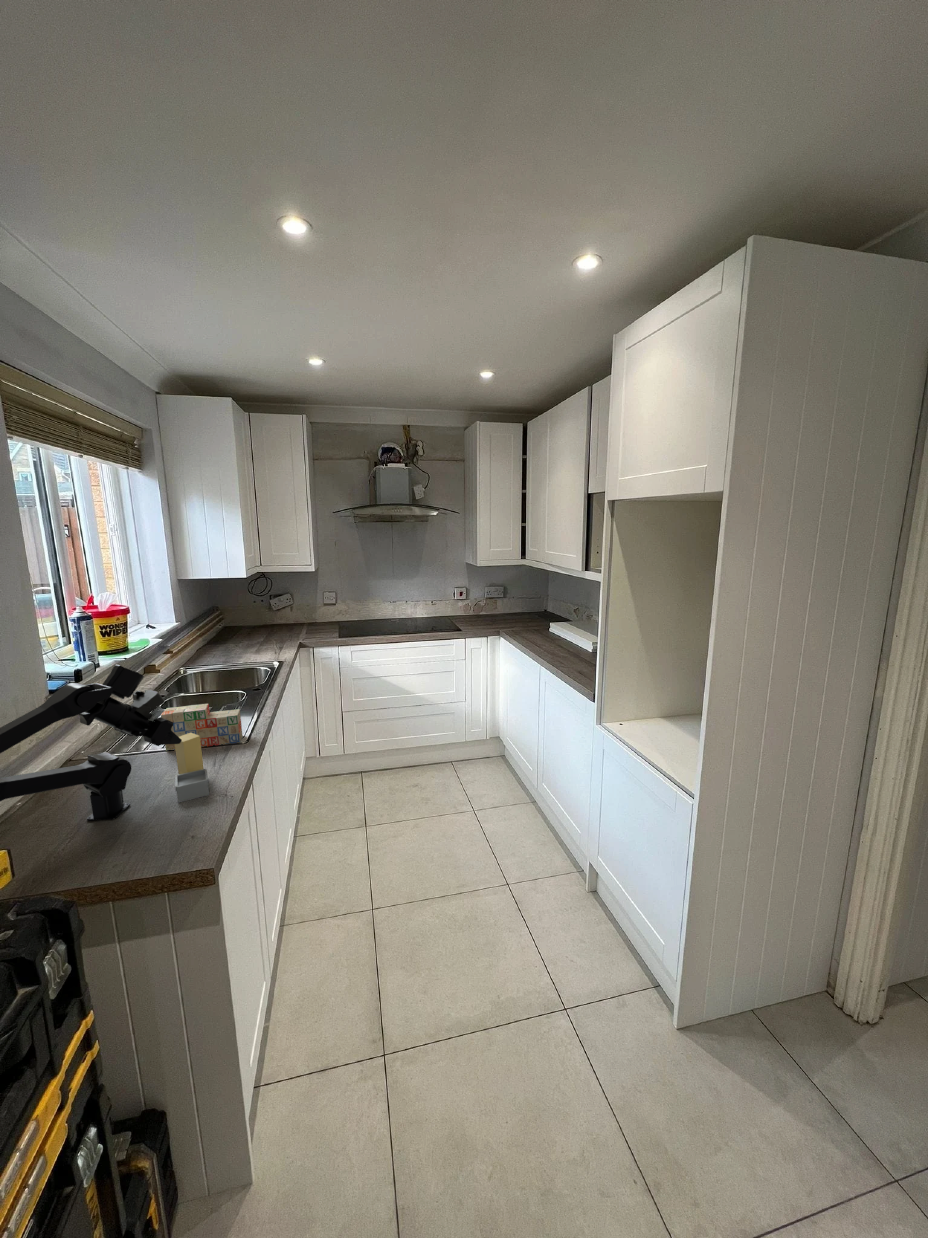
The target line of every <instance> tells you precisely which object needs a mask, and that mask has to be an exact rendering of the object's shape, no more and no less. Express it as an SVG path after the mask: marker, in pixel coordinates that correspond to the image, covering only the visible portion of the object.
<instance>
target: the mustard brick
mask: <svg viewBox="0 0 928 1238" xmlns="http://www.w3.org/2000/svg"><path fill="white" fill-rule="evenodd" d="M179 738H180V739H181V740H182V741H181V743H180V744H175V750H174V751H175V756H176V764H177V765H176V766H177V770H178V771H177V772H178V775H179V774H184V773H188V772H193V771H197V770H202V769H205V767H204V761H203V760H204V759H203V753H202V752H203V751H202V747H201V742H200V736H199V735H196V734H193V733H188V734H185V735H182V736H179Z"/></svg>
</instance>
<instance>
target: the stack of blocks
mask: <svg viewBox="0 0 928 1238" xmlns="http://www.w3.org/2000/svg"><path fill="white" fill-rule="evenodd" d="M160 718H164V719H167V720H169V721H171V722H173V726H172V728H171V730H172V731H173V732H174V733H175V734H176V735H177V736H178V737H179V736H182V735H185V734H188V733H193V734H196V735H199V736H200V742H201V746H207V747H212V746H213V745H215V746H222V745H221V744H223V745H226V744H225V743H231V744H237V742H239V743H241V740H242V738H243V729H242V718H241V709H239V708H238V709H230V710H229V709H228V710H221V711H220V710H218V711H210V706H209V703H200V704H191V705H184V706H178V707H176V706H175V707H167V708H166V709H165V710H163V711H162V713H161V714H160ZM164 746H165V752H168V751H167V750H173V749H175V744H167V745H164Z"/></svg>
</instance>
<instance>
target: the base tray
mask: <svg viewBox="0 0 928 1238" xmlns="http://www.w3.org/2000/svg"><path fill="white" fill-rule="evenodd" d="M207 770H208V769H207V768H204V769H202V770H197V771H193V772H188V773H184V774H179V773H178V774H176V775H174V785H175V786H174V787H175V792H176V798H177V803H178V804H179V803H183V802H187V801H190V800H194V799H198V798H202V797H203V798H204V797H207V796H210V789H209V788H210V787H209V776H208V771H207Z"/></svg>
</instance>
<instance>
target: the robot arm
mask: <svg viewBox="0 0 928 1238" xmlns="http://www.w3.org/2000/svg"><path fill="white" fill-rule="evenodd" d="M144 678H145V676H144V675H143V674H142V673H140V672H139V671H134V670H131V669H129V668H127V667H124V666H122V665H119V664H115V665H114V666H113V667H112V669H111V671H110V673H109V674H108V676H107V677H106V679H105V680H104V682H103V683H98V682H95V683H90V684H83V683H82V684H81V683H77V682H70V683H67V684H65V685H63V686H62V687H61V688H59V689H58V690H56V691H55V692H54V693H53V694H51V695H50V696H49V697H48V698H47V699H46V700H45V701H44V702H43V703H42V704H41V705H40V706H38V707H36V708H33V709H32V710H30V711H28V712H27V713H25V714H23V715H21V716H19V717H18V718H16V719H14V720H11V721H10V722H8V723H6V724H4V725H3V726H1V727H0V754H2V753H4V752H6V751H7V750H9V749H11V748H12V747H14V746H16V745H18V744H19V743H21V742H23V741H25V740H27V739H28V738H30V737H32V736H33V735H35V734H37V733H38V732H40V731H43V730H45V729H46V728H47V727H49V726H51V725H53V724H55V723H56V722H59V721H61V720H65V719H69V718H73V717H76V716H79V722H80V724H82V725H85V726H88V727H89V726H91V724H92V723H93V721H94V720H95V721H99V722H101V723H103V724H104V725H107V726H109V727H111V728H113V730H114V731H116V732H119V733H121V734H124V735H127V736H129V737H136V738H138V737H143V741H144V742H146V743H149V744H151V745H155V746H156V747H157V746H158V747H160V746H165V745H167V744H180V743H181V741H182V740H181V739H180V738H179V737H178V736H177V735H176V734H175V733H174V732H173V731H172V730H171V728H172V726H173V722H171V721H169V720H167V719H164V718H161V716H159V717H156V718H154V719H153V720H151V719H152V717H153V715H154V714H152V712H153V711H155V710H156V709H158V707H159V706H162V705H163V704H164V703H165V702H166V700H165V699H164V698H163V696H162V695H161V694H160V693H159V692H158V691H156V690H153V689H147V690H145V692H144V691H141V690H137V689H138V687H139V686H140V684H141V683H142V681H143V680H144ZM112 696H113V697H115V698H116V699H115V698H113V697H112ZM131 697H132V703H131V704H129V703H124V702H122V701H119V700H117V698H118V699H121V700H124V699H125V698H127V699H129V698H131ZM131 772H132V764H131V762H129V760H127V759H125V758H123V757H120V756H117V755H115V754H112V753H110V752H107V751H104V752H101V753H98V754H96V753H95V754H87V760H86V761H83V762H82V763H80V764H77V765H72V766H65V767H58V768H53V769H52V768H51V769H47V770H46V769H45V770H40V771H34V772H29V773H22V774H15V775H9V776H5V777H0V802H2V801H5V800H8V799H13V798H17V797H18V798H20V797H23V796H27V795H33V794H39V793H43V792H48V791H50V792H51V791H53V790H54V791H55V790H58V789H59V790H60V789H64V788H70V787H75V786H79V785H82V786H83V787H84V788H85V789H86V790H89V791H90V795H89V798H90V799H89V800H90V806H91V812H92V813H91V814H90V815H89V816H87V817H86V821H89V822H90V821H91V822H92V821H107V820H108V821H109V820H115V819H117V818H118V817H119V816H120V815H121V814H123V812H125V811H126V810H127V809H128V808H129V807H131V803H130V802H125V803H124V796H123V791H124V790H125V789H126V786H127V782H128V777H129V776H130V774H131Z"/></svg>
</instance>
